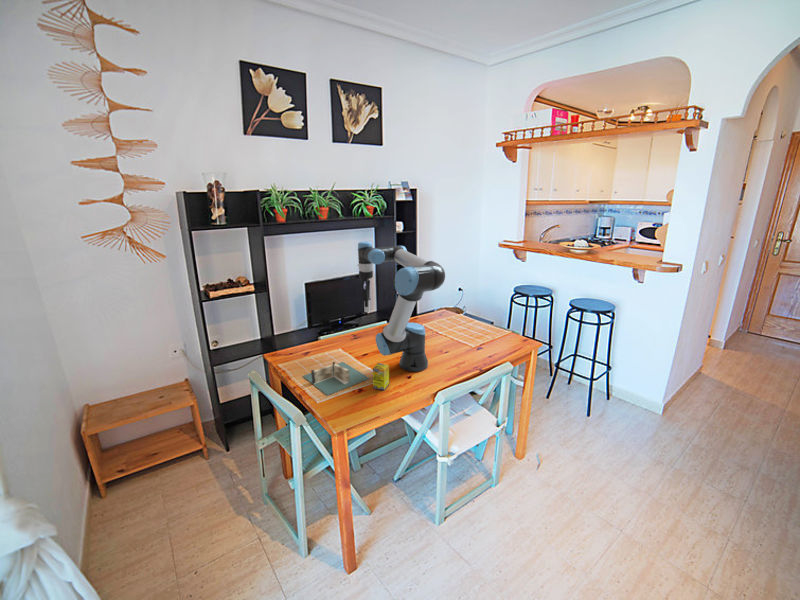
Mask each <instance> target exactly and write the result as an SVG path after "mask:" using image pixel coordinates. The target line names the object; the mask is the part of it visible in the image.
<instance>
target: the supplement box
mask: <svg viewBox="0 0 800 600" xmlns="http://www.w3.org/2000/svg"><path fill="white" fill-rule="evenodd" d="M389 386H390V365H389V364H385V363H384V364H383V363H380V362H377V363H376V364H375V365H374V366H373V367H372V387H373V388H372V389H375V390H380V391H383V392H384V391H386V390H387V388H388V387H389Z"/></svg>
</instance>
